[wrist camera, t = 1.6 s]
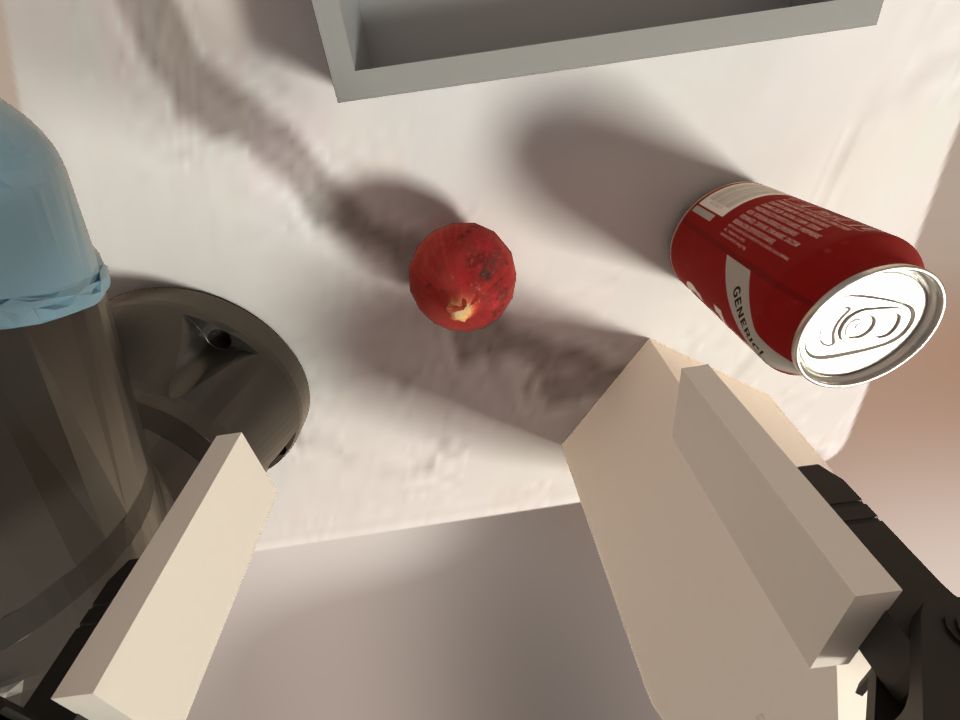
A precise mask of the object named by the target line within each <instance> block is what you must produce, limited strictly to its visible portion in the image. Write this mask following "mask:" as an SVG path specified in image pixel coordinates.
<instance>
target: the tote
mask: <svg viewBox="0 0 960 720" xmlns="http://www.w3.org/2000/svg"><path fill="white" fill-rule="evenodd" d="M311 1H312V5H313V8H314V12H315V16H316V20H317V24H318V28H319V32H320V35H321V39H322V43H323V47H324V51H325V55H326V59H327V62H328V66H329V70H330V74H331V78H332V82H333V86H334V89H335V93H336V97H337V101H338V103H340V102H347V101H354V100H361V99H368V98H375V97H382V96H388V95H395V94H402V93H409V92H416V91H423V90H430V89H437V88H444V87H451V86H458V85H464V84H471V83H478V82H485V81H492V80H499V79H506V78H513V77H520V76H527V75H534V74H540V73H547V72H554V71H561V70H568V69H575V68H582V67H589V66H596V65H603V64H610V63H616V62H623V61H630V60H637V59H644V58H651V57H658V56H665V55H672V54H679V53H686V52H692V51H699V50H706V49H713V48H720V47H727V46H734V45H741V44H748V43H755V42H762V41H769V40H775V39H782V38H789V37H796V36H803V35H810V34H817V33H824V32H831V31H838V30H845V29H851V28H858V27H865V26H872V25H876V24H877V21H878V18H879V14H880V11H881V8H882V4H883V1H884V0H311Z"/></svg>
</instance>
